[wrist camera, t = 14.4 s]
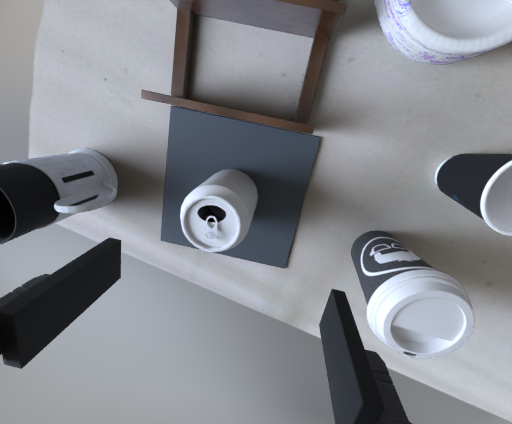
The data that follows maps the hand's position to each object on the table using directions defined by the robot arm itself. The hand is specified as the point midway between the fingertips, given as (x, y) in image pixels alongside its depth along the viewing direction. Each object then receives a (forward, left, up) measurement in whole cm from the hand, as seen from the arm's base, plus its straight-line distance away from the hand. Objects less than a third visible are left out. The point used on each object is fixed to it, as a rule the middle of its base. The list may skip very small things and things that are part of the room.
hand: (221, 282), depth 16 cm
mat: (+3, +1, -22) cm, 23 cm away
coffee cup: (-19, +5, -23) cm, 30 cm away
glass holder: (+22, +3, -23) cm, 32 cm away
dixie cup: (-25, -8, -23) cm, 34 cm away
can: (+3, +1, -22) cm, 22 cm away
